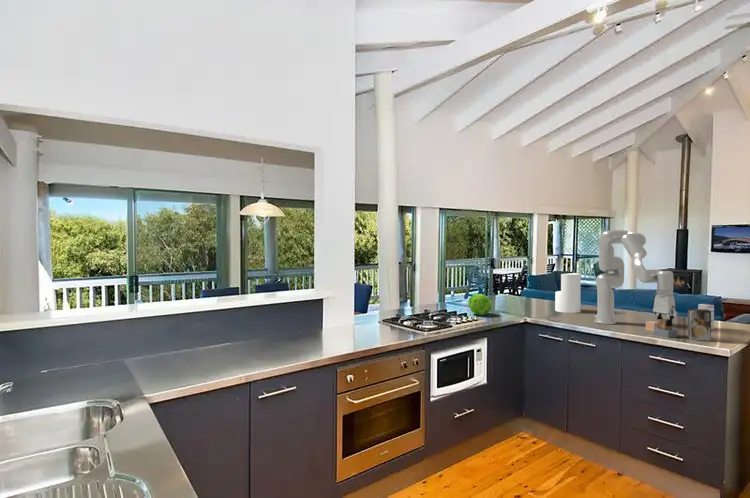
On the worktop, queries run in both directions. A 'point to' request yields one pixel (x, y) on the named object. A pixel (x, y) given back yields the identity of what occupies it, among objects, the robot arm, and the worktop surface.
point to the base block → (666, 333)
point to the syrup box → (711, 308)
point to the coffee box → (699, 324)
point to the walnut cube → (663, 324)
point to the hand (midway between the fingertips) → (664, 324)
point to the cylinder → (569, 294)
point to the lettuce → (479, 304)
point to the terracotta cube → (651, 325)
